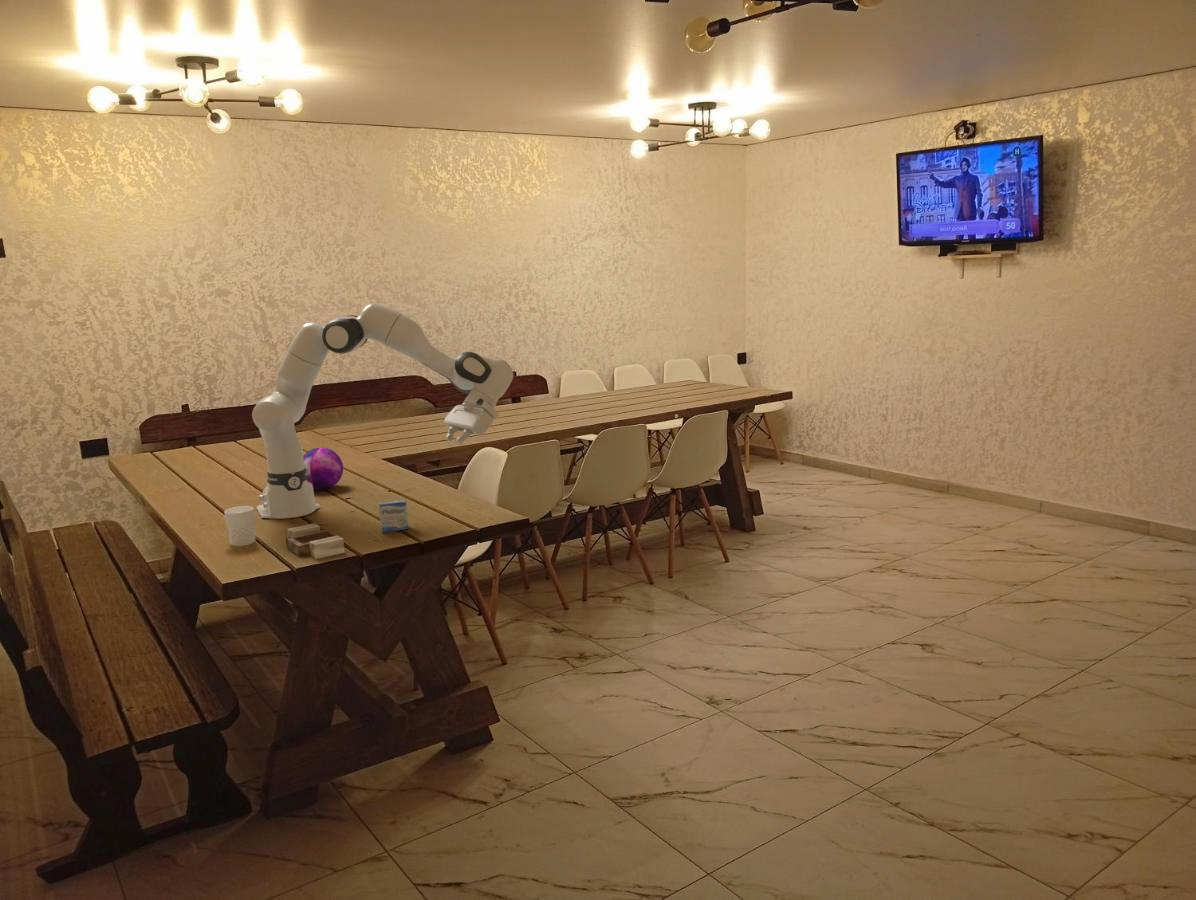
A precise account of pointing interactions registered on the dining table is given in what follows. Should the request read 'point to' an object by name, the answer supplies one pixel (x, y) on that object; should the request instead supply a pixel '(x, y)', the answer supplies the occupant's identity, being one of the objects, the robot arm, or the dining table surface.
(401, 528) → the medicine box
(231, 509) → the white cup
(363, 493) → the dining table surface
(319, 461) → the decorative orb
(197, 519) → the dining table surface
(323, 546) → the wooden tray
